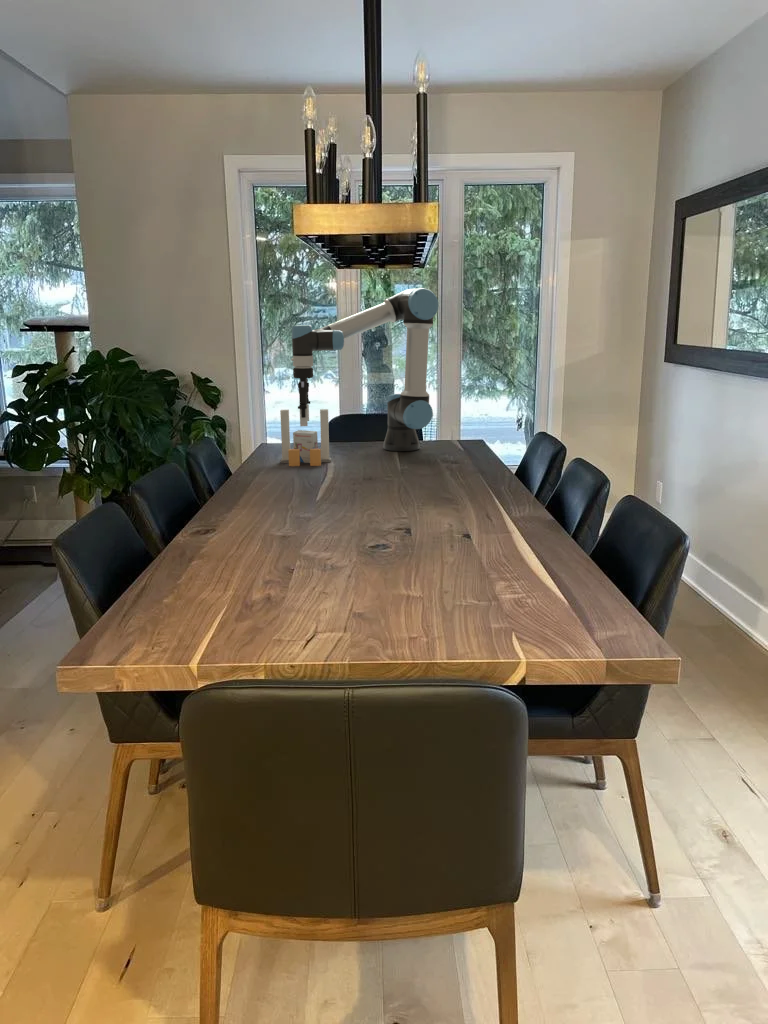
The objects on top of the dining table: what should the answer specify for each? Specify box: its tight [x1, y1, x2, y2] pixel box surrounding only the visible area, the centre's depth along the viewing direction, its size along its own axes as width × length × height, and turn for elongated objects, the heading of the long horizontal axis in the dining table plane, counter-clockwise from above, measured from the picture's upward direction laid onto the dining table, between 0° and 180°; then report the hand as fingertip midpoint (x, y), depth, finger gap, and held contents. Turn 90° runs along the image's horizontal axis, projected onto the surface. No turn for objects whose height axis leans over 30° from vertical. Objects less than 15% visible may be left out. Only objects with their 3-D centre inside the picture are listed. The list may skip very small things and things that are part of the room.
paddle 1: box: [288, 448, 301, 467], centre depth 289 cm, size 4×3×6 cm
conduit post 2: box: [319, 408, 332, 463], centre depth 294 cm, size 4×4×20 cm
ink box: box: [292, 429, 319, 464], centre depth 295 cm, size 9×5×12 cm, turn 73°
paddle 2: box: [309, 448, 322, 467], centre depth 289 cm, size 4×3×6 cm
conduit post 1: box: [279, 409, 291, 464], centre depth 293 cm, size 4×4×20 cm
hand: (304, 423), depth 292 cm, fingers open, 13 cm apart
